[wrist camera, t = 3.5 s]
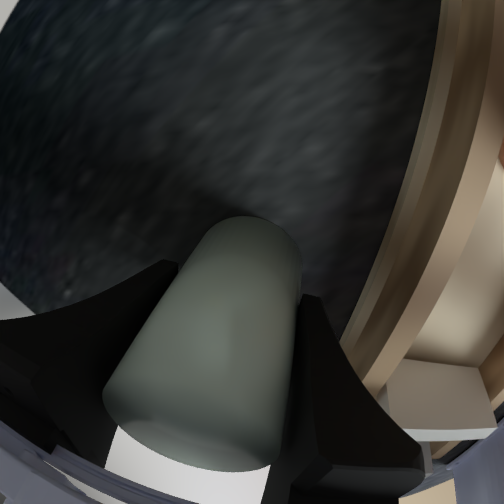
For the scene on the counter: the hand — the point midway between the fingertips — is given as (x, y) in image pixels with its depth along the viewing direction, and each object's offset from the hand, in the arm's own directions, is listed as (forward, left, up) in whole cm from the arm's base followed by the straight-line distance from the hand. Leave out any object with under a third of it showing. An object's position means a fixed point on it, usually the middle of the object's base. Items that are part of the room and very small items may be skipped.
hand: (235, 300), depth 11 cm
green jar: (0, 0, -2) cm, 2 cm away
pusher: (-6, -10, -1) cm, 12 cm away
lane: (+2, -10, -2) cm, 10 cm away
